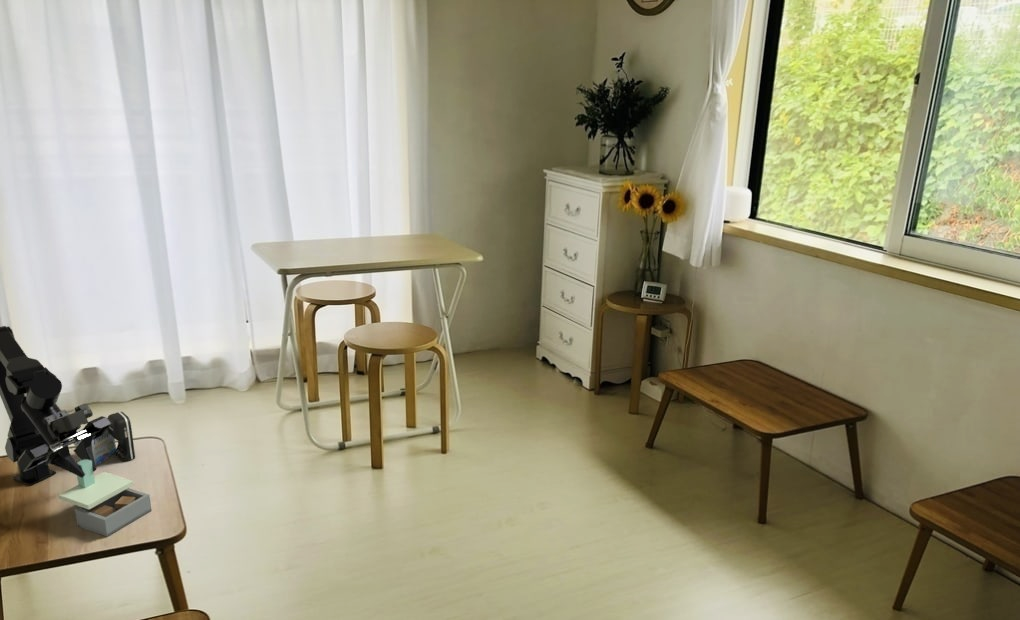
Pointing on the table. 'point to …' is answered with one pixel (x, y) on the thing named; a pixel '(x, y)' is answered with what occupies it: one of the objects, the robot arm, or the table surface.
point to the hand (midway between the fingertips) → (89, 473)
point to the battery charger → (122, 435)
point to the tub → (117, 518)
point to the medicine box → (103, 447)
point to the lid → (94, 487)
